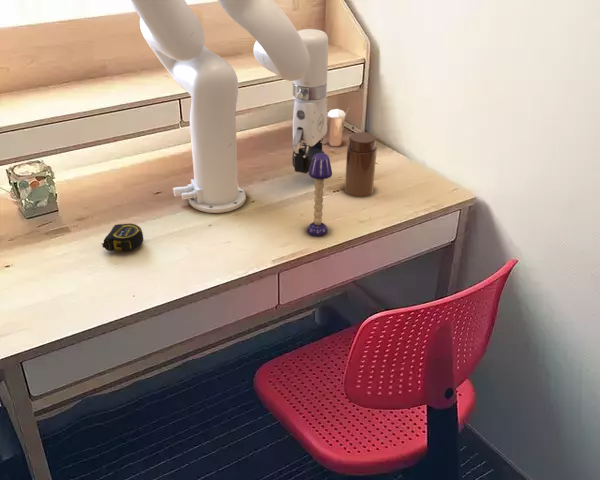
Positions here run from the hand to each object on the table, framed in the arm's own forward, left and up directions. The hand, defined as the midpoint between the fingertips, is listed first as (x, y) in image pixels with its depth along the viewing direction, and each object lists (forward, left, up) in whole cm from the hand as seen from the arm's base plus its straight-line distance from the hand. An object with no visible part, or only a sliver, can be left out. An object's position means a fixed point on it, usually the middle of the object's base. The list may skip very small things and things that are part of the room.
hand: (308, 164), depth 159 cm
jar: (+9, -9, -4) cm, 13 cm away
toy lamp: (-7, -23, -4) cm, 25 cm away
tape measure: (-46, -16, -4) cm, 49 cm away
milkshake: (+15, +17, -4) cm, 23 cm away
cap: (0, 0, +2) cm, 2 cm away
